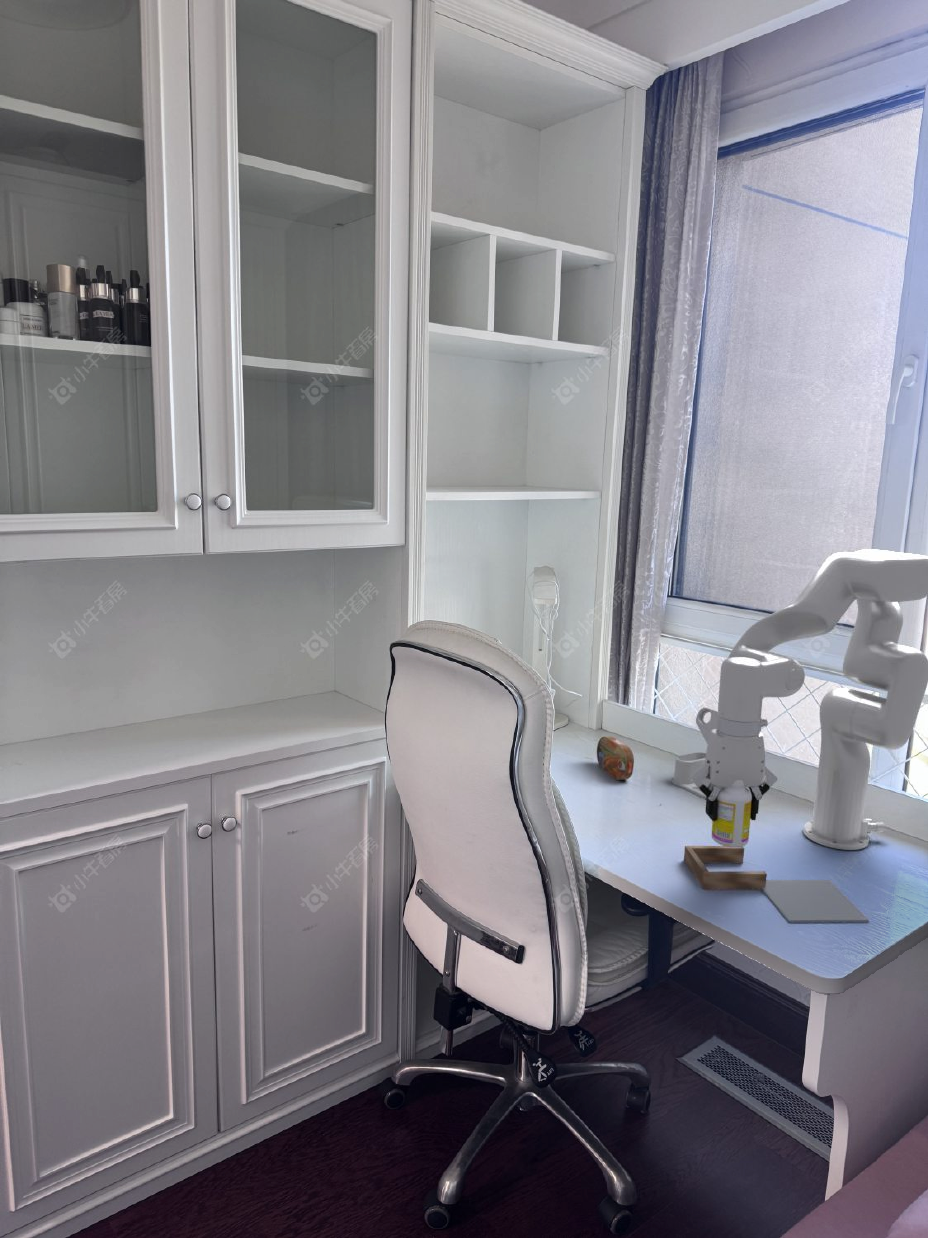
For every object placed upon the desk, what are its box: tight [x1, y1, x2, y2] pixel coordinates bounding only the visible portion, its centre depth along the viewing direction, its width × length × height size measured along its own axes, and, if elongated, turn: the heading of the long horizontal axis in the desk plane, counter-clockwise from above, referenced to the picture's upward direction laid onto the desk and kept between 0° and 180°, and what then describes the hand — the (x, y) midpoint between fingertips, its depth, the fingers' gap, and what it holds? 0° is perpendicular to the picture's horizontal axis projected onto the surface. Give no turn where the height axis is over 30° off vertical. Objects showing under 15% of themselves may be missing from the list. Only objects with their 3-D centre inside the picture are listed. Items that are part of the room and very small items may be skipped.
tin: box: [596, 736, 635, 781], centre depth 211 cm, size 15×3×8 cm, turn 17°
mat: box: [761, 879, 870, 923], centre depth 152 cm, size 14×14×1 cm
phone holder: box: [671, 707, 718, 800], centre depth 201 cm, size 17×10×18 cm, turn 31°
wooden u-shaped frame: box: [683, 845, 768, 890], centre depth 161 cm, size 11×11×3 cm
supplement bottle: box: [711, 780, 752, 847], centre depth 159 cm, size 7×7×13 cm
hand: (731, 817), depth 159 cm, fingers closed on supplement bottle, 6 cm apart
